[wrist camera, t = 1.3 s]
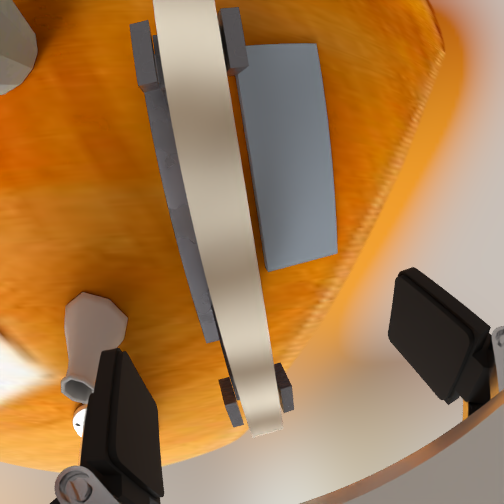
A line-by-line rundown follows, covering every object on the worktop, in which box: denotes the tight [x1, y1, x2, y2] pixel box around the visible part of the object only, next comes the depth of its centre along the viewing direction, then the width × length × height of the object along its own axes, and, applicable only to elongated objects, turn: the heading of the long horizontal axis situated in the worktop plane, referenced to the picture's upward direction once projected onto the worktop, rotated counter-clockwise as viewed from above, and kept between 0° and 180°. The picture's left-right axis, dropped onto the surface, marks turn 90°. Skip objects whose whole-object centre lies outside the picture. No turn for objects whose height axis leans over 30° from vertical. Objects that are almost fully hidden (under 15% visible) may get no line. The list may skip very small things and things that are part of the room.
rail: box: [153, 0, 284, 438], centre depth 16 cm, size 28×2×3 cm, turn 9°
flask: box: [61, 292, 128, 404], centre depth 24 cm, size 7×7×10 cm
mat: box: [235, 43, 337, 272], centre depth 27 cm, size 21×8×1 cm, turn 9°
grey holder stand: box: [130, 7, 294, 427], centre depth 21 cm, size 28×6×14 cm, turn 9°
